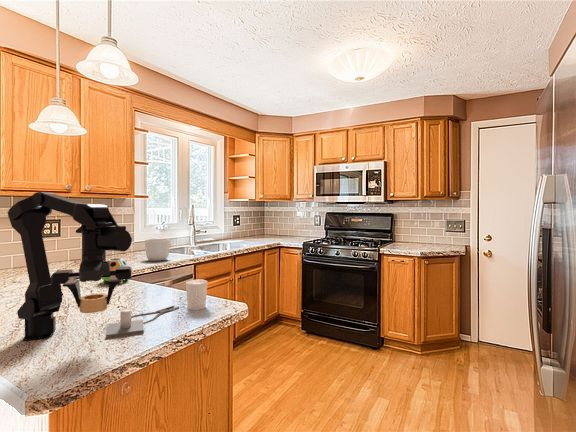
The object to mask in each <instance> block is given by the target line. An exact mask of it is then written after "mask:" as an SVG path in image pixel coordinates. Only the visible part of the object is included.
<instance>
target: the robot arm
mask: <svg viewBox="0 0 576 432" xmlns="http://www.w3.org/2000/svg"><path fill="white" fill-rule="evenodd" d="M53 211H56V212H59V213H62V214H65V215H68V216H71V217H72V220H73V221H75V222H76V223H79V224H80V226H79V227H78V228H77V229H76V230H75V233H76V234H81V262H80V264H79V268H78V271H77V272H76V271H75V272H74V271H73V269H59V270H58V269H57V270H56V271H54V272H53V273H52V274H50V267H49V263H48V258H47V254H46V253H47V252H46V248H45V243H44V237H43V230H44V228H45V226H46V224H47V217H48V216H49V215H50V214H51V213H52V212H53ZM7 216H8V220H9V222H10V225H11V228H13V229H14V230H15V231H16V232H17V233H18V234H19V235H20V238H21V240H20V241H21V244H22V245H21V246H22V249H23V255H24V260H25V264H26V270H27V275H28V282H29V283H28V286H27V289H26V291H25V293H24V302H23V303H22V305H21V306H20V307H19V308H18V310H17V311H16V314H17V318H18V319H19V320H24V337H23V338H22V341H23V342H25V341H30V340H31V341H32V340H39V339H48V338H51V336H52V335H53V334H54V333H55V331H56V329H57V328H56V326H57V325H56V323H57V322H56V319H57V318H56V316H54V313H57V312H59V311H60V309H61V305H62V302H63V296H64V293H63V291H62V287H64V288H68V289H69V291H70V292H71V294H72V296H73V298H74V300H75V303H76V306H77V307H78V308H80V298H81V297H82V296H81V286H80V282H81V283H86V282H99V281H101V280H102V277H110V278H111V279H110V281H108V290H107V306H108V305H110V301H111V299H112V296H113V292H114V290H115V288H116V286H117V284H118V283H120V282H121V281H122V280H123V279H124V280H125V279H129V280H131V279H132V275H133V273H132V270H133V269H132V267H131V266H130V265H127V266H126V267H117V268H116V270H110V261H109V260H107V251H108V252H110V251H113V252H126V251H128V250H130V248H131V245H132V242H133V237H132V235H131V233H130V232H129V231H128V230H127V227H126V225H118V223H117V221H116V220H115V219H114V216H113V215H112V213H111V212H110V210H109V207H108V205H105V204H101V203H100V204H99V203H85V202H81V201H78V200H74V199H71V198H69V197H65V196H62V195H59V194H56V193H54V192H50V191H49V192H48V191H46V192H45V191H37V192H35V193H33V194H32V195H31V196H29V197H26V198H24V199H21V200H19V201H17V202H16V203H15V204H13V205H12V206H11V207H10V208H9V209H8V211H7ZM124 280H123V281H124Z"/></svg>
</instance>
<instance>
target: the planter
mask: <svg viewBox="0 0 576 432" xmlns="http://www.w3.org/2000/svg"><path fill="white" fill-rule="evenodd" d="M170 243H171V239H170V238H147V239H144V246H145V247H144V248H145V257H146V258H147V260H148V261H150V262H162V261H161V260H163V261H166V260H167V259H168V257H169V254H170V246H171V244H170Z"/></svg>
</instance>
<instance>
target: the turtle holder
mask: <svg viewBox="0 0 576 432" xmlns="http://www.w3.org/2000/svg"><path fill="white" fill-rule="evenodd" d="M108 261H110V270H116V268H117V267H126V266H128V263H127V262H126V260H125V259H123V258H121V257H115V258H113V257H112V258H109V259H108ZM110 279H111V278H110V277H102V278H101V280H102V283H101V284H102V285H105V284H107V282H109V281H110ZM124 280H125V281H126V282H127V281H129V280H130V279H123V280H122V281H121V282H120V283H119V284H120V285H122V284H123V283H124Z"/></svg>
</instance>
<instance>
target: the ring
mask: <svg viewBox="0 0 576 432" xmlns="http://www.w3.org/2000/svg"><path fill="white" fill-rule="evenodd" d="M107 296H108V294H106V293H93V294H86V295H84V296H81V298H80V307H79V312H80V313H82V314H94V313H99V312H100V313H101V312H103V311H106V310H107V309H108V305H107Z"/></svg>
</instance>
